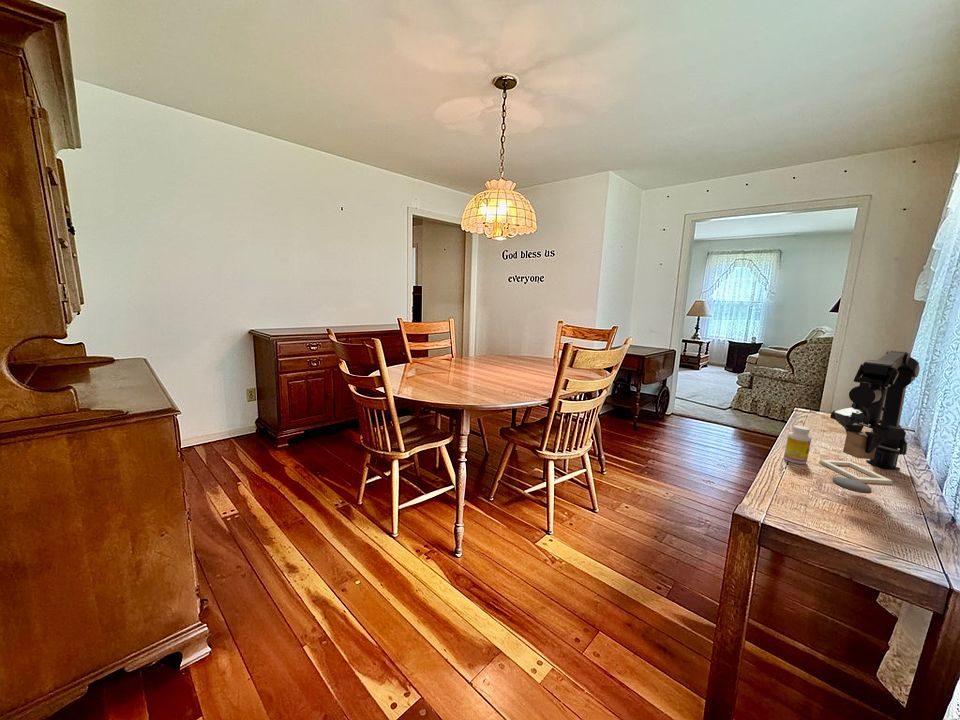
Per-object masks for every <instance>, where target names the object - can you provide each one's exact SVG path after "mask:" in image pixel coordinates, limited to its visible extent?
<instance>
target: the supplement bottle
mask: <svg viewBox="0 0 960 720" xmlns="http://www.w3.org/2000/svg"><path fill="white" fill-rule="evenodd" d="M810 431H811V430H810V428H808V427H807V426H802V425H798V424H797V425H793V426H792V431H790V432H788V434H787V438H786V444H785V448H784V452H783V453H784V454H783V458H784V459H785V460H786V461H788V462H790V463H794V464H797V465H805V464H806V463H808V459H809V458H808V457H809V453H810V447H811V443H812V437H811V436H810V435H809V433H810Z"/></svg>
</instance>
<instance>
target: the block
mask: <svg viewBox="0 0 960 720" xmlns="http://www.w3.org/2000/svg"><path fill="white" fill-rule="evenodd" d="M867 438H868V436H867V435H866V433H865V431H864V432H863V431H861V432H852V431H847V433H846V436H845V440H844V446H843V449H842V453H844V454H846V455H848V456H852V457H854V458H856V459H864V460H870V459H874V456H875V451H876V448H875V449H874V450H873V451H872V452H871V453H866V444H867Z"/></svg>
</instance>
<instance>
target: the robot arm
mask: <svg viewBox="0 0 960 720" xmlns="http://www.w3.org/2000/svg"><path fill="white" fill-rule="evenodd" d="M919 374H920V362H919V361H917V360H916V359H915V358H913V357H911V354H910V353H909V352H907V351H902V350H901V351H898V350H887V351H886V353H885V354H884V355H882V356H881V357H879V359H867V360H864V362H863V363H861V364H860V366H859V368H858V370H857V373H856V374H855V375H854V376H855V377H854V378H853V382H854V383H859V385H857V386H855V387H852V388H851V390H849V392H848V398H849V400H850V401H851V402H852V404H851V406H850V407H845V408H843V409H838V410H836V409H835V410H832V412H831V413H830V417H829V418H830V419H831V420H834V421H836V422H838V424H839V425H841V427H843V428H844V430H845V432H846V433H845V434H847V431H852V432H863V429H864V427H866V428H869V429H871V431H864V433H866V435H867V436H868V438H867V444H866V453H871V452H872V451H873V450H874V449H875V448H876V451H875V456H874V459H865V462H866V463H869V464H871V465H874V466H876V467H878V468H880V469H883V470H896V471H897V470H901V468H900V467H898V466H897V463H898V458H899V456H900V455H901V456H902V455H904V456H907V455H906V454H907V452H908V442H907V439H906V434H907V431H906V430H905V429H904V428H903V427H902V426H901V424H900V423H901V419H902V418H901V417H902V412H903V407H904V400H905V398H906V397H905V396H906V391H907V387H908V386H909V385H910V384H911V383H913V382H914V381H915V380H916V378H917V377H918V376H919Z"/></svg>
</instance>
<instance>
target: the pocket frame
mask: <svg viewBox="0 0 960 720" xmlns="http://www.w3.org/2000/svg"><path fill="white" fill-rule="evenodd" d="M819 464H821V465H823V466H825V467H827V468H828V469H831V470H832V471H835V472H837V473H839V474H841V475H843V476H845V478H849V479H853V480H856V481H859V482H862V483H864V484H878V485H879V484H881V485H893V480H892V479H890V478H888V477H886V476H884V475H882V474H879V473H877V472H875V471H872V470H871V469H868V468H866V467H863V466H861V465H859V464H857V463H855V462H852V461H850V460H849V461H848V460H833V459H832V460H831V459H819ZM840 466H842V467H843V466H845V467H850V468H852V469H854V470H857V471H859V472H861V473H862V474H865V475H867V476H869V477H863V476H862V477H861V476H858V475H856V474H854V473H852V472H850V471H848V470H845V469H843V468H842V467H840Z"/></svg>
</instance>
